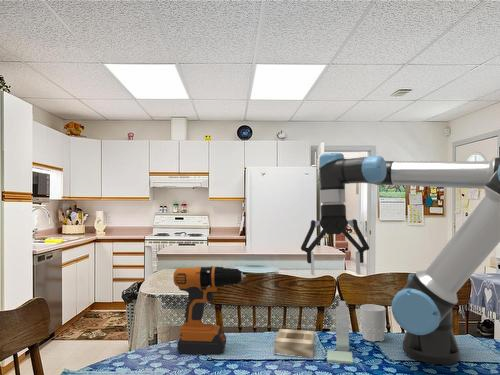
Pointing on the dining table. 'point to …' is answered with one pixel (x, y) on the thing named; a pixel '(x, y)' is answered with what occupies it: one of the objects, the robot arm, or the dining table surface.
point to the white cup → (373, 322)
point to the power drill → (202, 307)
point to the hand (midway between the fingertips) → (335, 274)
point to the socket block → (295, 342)
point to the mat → (339, 357)
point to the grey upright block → (342, 326)
